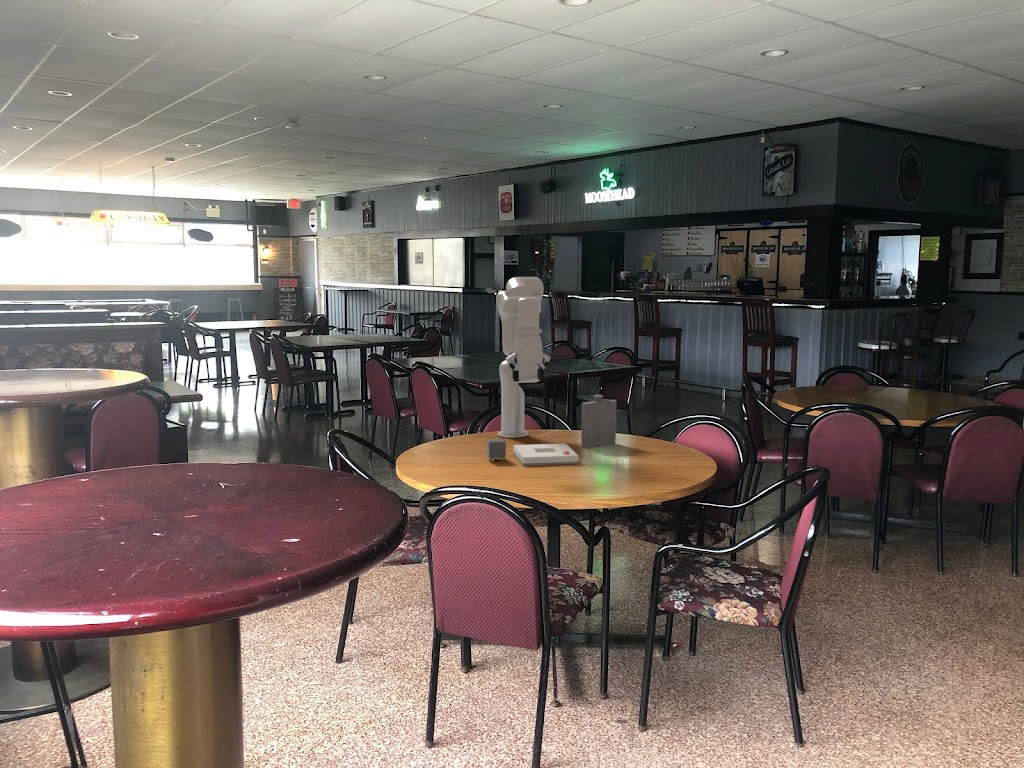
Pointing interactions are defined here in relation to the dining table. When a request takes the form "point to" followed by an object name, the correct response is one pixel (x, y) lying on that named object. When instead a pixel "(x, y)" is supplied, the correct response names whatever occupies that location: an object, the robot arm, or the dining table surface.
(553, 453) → the socket
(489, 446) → the plug
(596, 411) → the hip flask
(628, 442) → the dining table surface
